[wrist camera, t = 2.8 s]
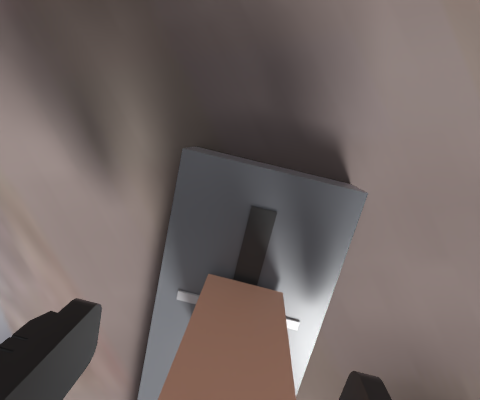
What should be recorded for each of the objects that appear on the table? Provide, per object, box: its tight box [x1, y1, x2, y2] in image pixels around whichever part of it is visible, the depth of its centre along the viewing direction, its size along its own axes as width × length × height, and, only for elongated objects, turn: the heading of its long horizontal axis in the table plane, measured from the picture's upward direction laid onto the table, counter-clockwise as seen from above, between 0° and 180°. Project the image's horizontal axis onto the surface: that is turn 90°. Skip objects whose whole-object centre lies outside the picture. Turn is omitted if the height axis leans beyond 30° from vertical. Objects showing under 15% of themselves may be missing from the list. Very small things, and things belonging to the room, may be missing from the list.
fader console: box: [138, 146, 368, 400], centre depth 13 cm, size 7×19×2 cm, turn 167°
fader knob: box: [158, 274, 296, 400], centre depth 8 cm, size 3×3×6 cm
